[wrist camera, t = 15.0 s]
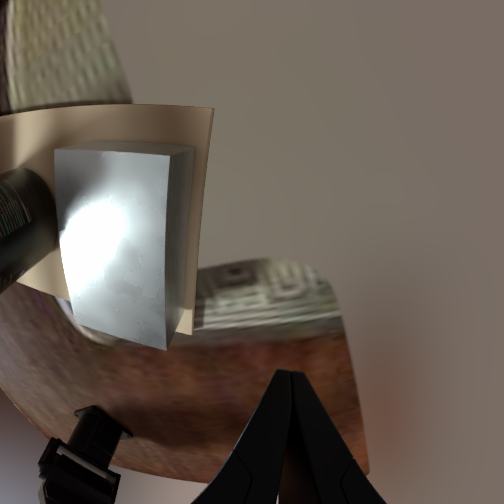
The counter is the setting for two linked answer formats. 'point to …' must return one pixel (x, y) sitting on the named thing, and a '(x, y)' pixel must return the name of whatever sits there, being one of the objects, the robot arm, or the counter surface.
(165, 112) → the vise
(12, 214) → the supplement bottle
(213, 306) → the counter surface
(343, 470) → the robot arm
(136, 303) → the sliding jaw
